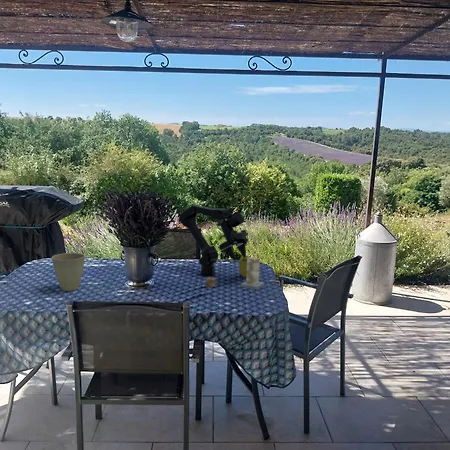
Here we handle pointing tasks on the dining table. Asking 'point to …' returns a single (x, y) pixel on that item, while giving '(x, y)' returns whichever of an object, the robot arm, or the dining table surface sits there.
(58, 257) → the plant pot
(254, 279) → the beech pillar
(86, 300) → the dining table surface
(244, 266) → the flower pot
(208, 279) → the walnut cube
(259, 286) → the slate plinth
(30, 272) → the dining table surface
